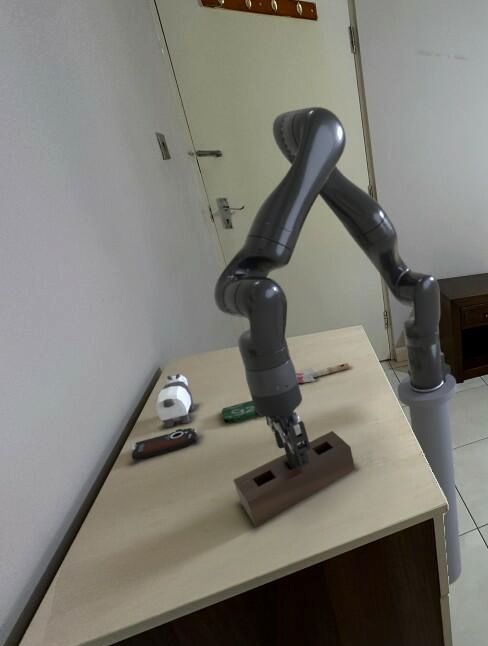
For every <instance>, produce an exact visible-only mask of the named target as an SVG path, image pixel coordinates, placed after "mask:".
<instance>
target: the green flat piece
mask: <svg viewBox="0 0 488 646" xmlns="http://www.w3.org/2000/svg"><path fill="white" fill-rule="evenodd" d="M221 415H222V420H223V423H224V424H232V423H234V424H235V423H238V422H239V423H240V422H244V421H246V420H249V419H252V418H253V419H254V418H256V417H257V416H260V415H259V414H258V413H257V412H256V410H255V407H254V404H253V400H252V399H251V400H249V401H245V402H242V403H237V404H234V405H230V406H225V407H222V409H221Z"/></svg>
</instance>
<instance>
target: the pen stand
mask: <svg viewBox="0 0 488 646" xmlns="http://www.w3.org/2000/svg"><path fill="white" fill-rule="evenodd" d="M309 444H310V448H311V449H309V450H308V451H306V452H307V456H308V460H309V463H308V464H307V465H305V466H304V467H302V468H300V469H298V468H297V467H296V468H294V469H292V470H290V466H289V463H288V459H287V456H286V453H285V454H282V455H280V456H278V457H276V458H274V459H272V460H271V461H268V462H267V463H264V464H262V465H260V466H258V467H256V468H254V469H252V470H250V471H248V472H246V473H243V474H242V475H240V476H237V477H235V478H234V479H233V480H232V481H233V484H234V486H235V490H236V492H237V495H238V498H239V501H240V504H241V505H242V507H243V509H244V510H245V511H246V514H247V515H248V517H249V518H250V520H251V521H252V523H253V525H254V527H256V528H258V527H259V526H261V525H263V524H264V523H266V522H267V521H269V520H271V519H273V518H274V517H276V516H278V515H280V514H281V513H284V512H285V511H287V510H288V509H290V508H292V507H293V506H295V505H296V504H299V503H300V502H302V501H303V500H306V499H307V498H309V497H310V496H312V495H314V494H315V493H317V492H319V491H321V490H322V489H324V488H326V487H327V486H329V485H331V484H332V483H334V482H336V481H338V480H339V479H341V478H343V477H344V476H346V475H348V474H350V473H352V472H353V471H355V470H356V467H355V463H354V457H353V452H352V447H351V446H350V445H349V444H348V443H347V442H346V441H345V440H344V439H342V438H341V437H340V436H339V435H338V434H337V433H336V432H334V431H333V430H331V431H329V432H326V433H325V434H322V435H321V436H319V437H317V438H315V439H313V440H311V441H309Z"/></svg>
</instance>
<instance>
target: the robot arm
mask: <svg viewBox="0 0 488 646" xmlns="http://www.w3.org/2000/svg"><path fill="white" fill-rule="evenodd" d="M272 135H273V138H274V142H275V143H276V145H277V148H278V149H279V151H280V152H281V154H282V155H283V157H284V158H285V159H286V160H287V161H288V162H289V164H291V166H290V168H289V169H288V170H287V172H286V174H285V176H284V177H283V178H282V179H281V180H280V181H279V183H278V184H277V185H276V186H275V187H274V189H273V190H272V191H271V193H270V194H269V195H268V196H267V197H266V198H265V200H264V201H263V202H262V204H260V205H261V206H259V208H258V210H257V212H256V214H255V216H254V218H253V221H252V222H251V225H250V227H249V230H248V232H247V235H246V238H245V240H244V243H243V245H242V247H241V248H240V249H239V250H238V251H237V252H236V253H235V254H234V256H233V257H232V258H231V260H230V261H229V262H228V264H227V265H226V267H225V268H224V269H223V270H222V272H221V273H220V275H219V276H218V278H217V281H216V283H215V286H214V290H213V299H214V302H215V305H216V308H218V309H219V311H221V312H222V313H224V314H226V315H227V316H233V317H237V318H245V319H247V320H248V323H249V329H247V330H245V331H243V332H242V333H241V334H240V335H239V336H238V339H237V347H238V350H239V354H240V356H241V361H242V363H243V367H244V372H245V380H246V384H247V387H248V390H249V394H250V397H251V401H252V400H253V404H254V407H255V410H256V412H257V413H258V414H259V415H258V416H261V417H264V418H265V421H266V425H267V426H268V427H269V428H270V431H271V432H272V433H273V434H274V435H273V436H274V438H275V441H276V446H277V447H278V448H279V449H284V445H283V442H284V443H287V444H288V446H289V448H290V450H291V453H292V455H293V459H294V463H295V466H296V467H297V468H298V469H300V468H302V467H304V466H305V465H307V464H308V463H309V460H308V456H307V452H306V451H308V450H309V449H311V448H310V444H309V442H310V440H309V437H308V433H307V430H306V426H305V422H304V421H303V420H300V417H299V415H298V413H297V412H296V411H295V410H296V409H297V407H299V406H300V405H301V403H302V401H303V397H302V392H301V388H300V383H298V379H297V375H296V374H297V372H296V367H295V365H294V362H293V360H292V357H291V354H290V350H289V345H288V342H287V338H286V333H287V332H286V331H287V319H288V318H287V317H288V300H287V299H288V298H287V295H286V293H285V291H284V289H283V287H282V285H280V284H279V282H277V281H276V280H274V279H273V278H271V277H268V276H269V275H270V273H272V272H273V271H276V270H280V269H284V268H285V267H287V266H288V264H289V263H290V262H291V259H292V256H293V254H294V250H295V248H296V245H297V242H298V240H299V238H300V236H301V232H302V229H303V227H304V224H305V222H306V220H307V217H308V215H309V213H310V211H311V209H312V207H313V206H314V204H315V202H316V200H317V198H318V196H319V197H320V198H321V199H322V200H323V201H324V203H325V204H326V205H327V206H328V208H329V209H330V210H331V212H332V213H333V214H334V216H335V217H336V218H337V219H338V221H340V224H342V226H343V227H344V229H345V230H346V232H347V234H349V236H350V237H351V238H352V239H353V240H354V242H355V243H356V245H357V246H358V248H360V250H361V251H362V252H363V253H364V255H365V256H366V258H368V260H369V261H370V263H371V265H373V266H374V268H375V269H376V271H378V273H379V275H380V276H381V278H382V280H383V281H384V283H385V285H386V287H387V288H388V290H389V291H390V293H391V294H392V296H393V298H394V299H395V300H396V302H397V303H399V304H401V305H402V306H406V307H409V308H413V315H414V316H410V317H409V318H407V319H406V320H404V322H403V333H404V343H405V351H406V359H407V368H408V369H407V370H408V371H407V373H408V376H409V377H410V388H411V389H412V390H413V391H414V392H417V393H430V392H434V391H436V390H438V389H440V388H441V387H442V386H443V383H445V382H446V377H445V376H446V375H447V374H451V373H452V372H451V365H449V364H448V363H446V362H445V354H444V352H443V351H441V341H440V327H439V325H440V319H441V293H440V291H441V290H440V284H439V282H438V280H437V278H436V277H435V276H433V275H432V274H429V273H422V272H418V271H413V270H412V269H411V268H410V267H408V265H407V264H406V262H405V261H404V259H403V258H402V257H401V255H400V253H399V239H398V232H397V229H396V227H395V225H394V223H393V222H392V220H391V219H390V217H389V215H388V213H386V211H385V210H384V208H383V206H382V205H381V204H380V203H379V202H378V201H377V199H374V197H373V196H371V195H370V194H369V193H367V192H366V191H365V190H363V189H362V188H361V187H359V186H358V185H356V184H355V183H354V182H353V181H351V179H349V178H348V177H346V176H345V175H344V174H343V172H341V171H340V169H339V168H338V166H337V164H338V163H339V161H340V159H341V157H342V156H343V154H344V151H345V149H346V144H347V138H346V132H345V127H344V125H343V123H342V122H341V120H340V118H339V116H337V115H336V114H335V113H334V112H333V111H332V110H329V109H328V108H325V107H322V106H321V107H320V106H311V107H304V108H300V109H295V110H289V111H285V112H283V113H280V114H278V115H277V116H276V117H275V118H274V121H273V123H272ZM286 435H289V436H290V437H286ZM282 440H283V442H282Z"/></svg>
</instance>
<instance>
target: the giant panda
mask: <svg viewBox="0 0 488 646" xmlns="http://www.w3.org/2000/svg"><path fill="white" fill-rule="evenodd" d="M166 378H167V381H166V384H165V385H164V386H163V388H162V389H161V390H160V392H159V394H158V397H157V401H156V403H155V408H156V414H157V416H158V418H159V419H160V420H161V422H163V424H164V426H165V427H166V428H171V427H173V426H175V418H176V419H177V418H179V419H180V420H181V423H182V424H188V423H189V422H190V421H191V417H190V415H189V412H192V411H194V410H195V408H196V405H195V403H194V399H193V396H192V391H191V390H190V389H189V387H188V385H189V382H188V379H187V378H186V377H185V376H184V375H182V374H180V373H177V374H176V375H173V376H171V375H168V376H166Z"/></svg>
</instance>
